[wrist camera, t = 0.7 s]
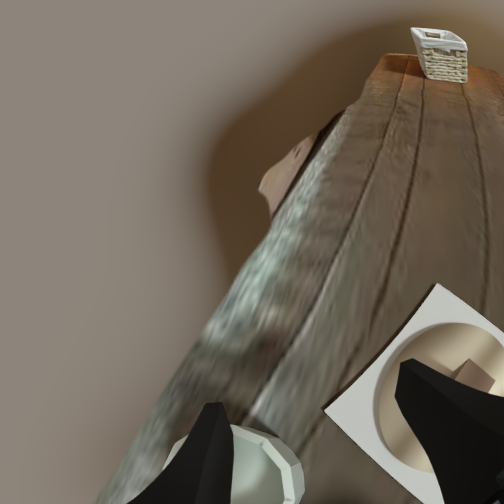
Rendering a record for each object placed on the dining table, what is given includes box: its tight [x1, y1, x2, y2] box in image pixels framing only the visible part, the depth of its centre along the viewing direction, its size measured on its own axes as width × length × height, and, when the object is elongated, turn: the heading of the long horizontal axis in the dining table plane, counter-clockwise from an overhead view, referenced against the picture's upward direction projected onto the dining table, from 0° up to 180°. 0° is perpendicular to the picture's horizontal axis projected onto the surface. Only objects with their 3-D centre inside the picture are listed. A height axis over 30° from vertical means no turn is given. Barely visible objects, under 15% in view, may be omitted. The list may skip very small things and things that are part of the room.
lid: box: [379, 323, 504, 473], centre depth 16 cm, size 15×15×5 cm
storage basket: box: [411, 28, 468, 83], centre depth 53 cm, size 24×16×15 cm
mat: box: [324, 283, 504, 504], centre depth 18 cm, size 18×18×1 cm
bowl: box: [163, 424, 305, 504], centre depth 18 cm, size 12×12×5 cm
